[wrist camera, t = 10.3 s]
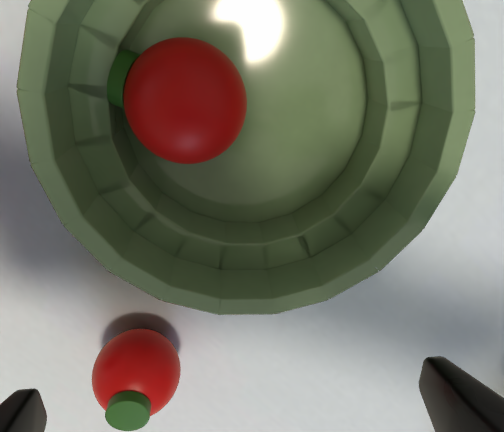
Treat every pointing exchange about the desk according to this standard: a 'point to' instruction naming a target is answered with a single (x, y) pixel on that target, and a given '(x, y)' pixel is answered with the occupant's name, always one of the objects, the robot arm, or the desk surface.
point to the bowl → (254, 143)
